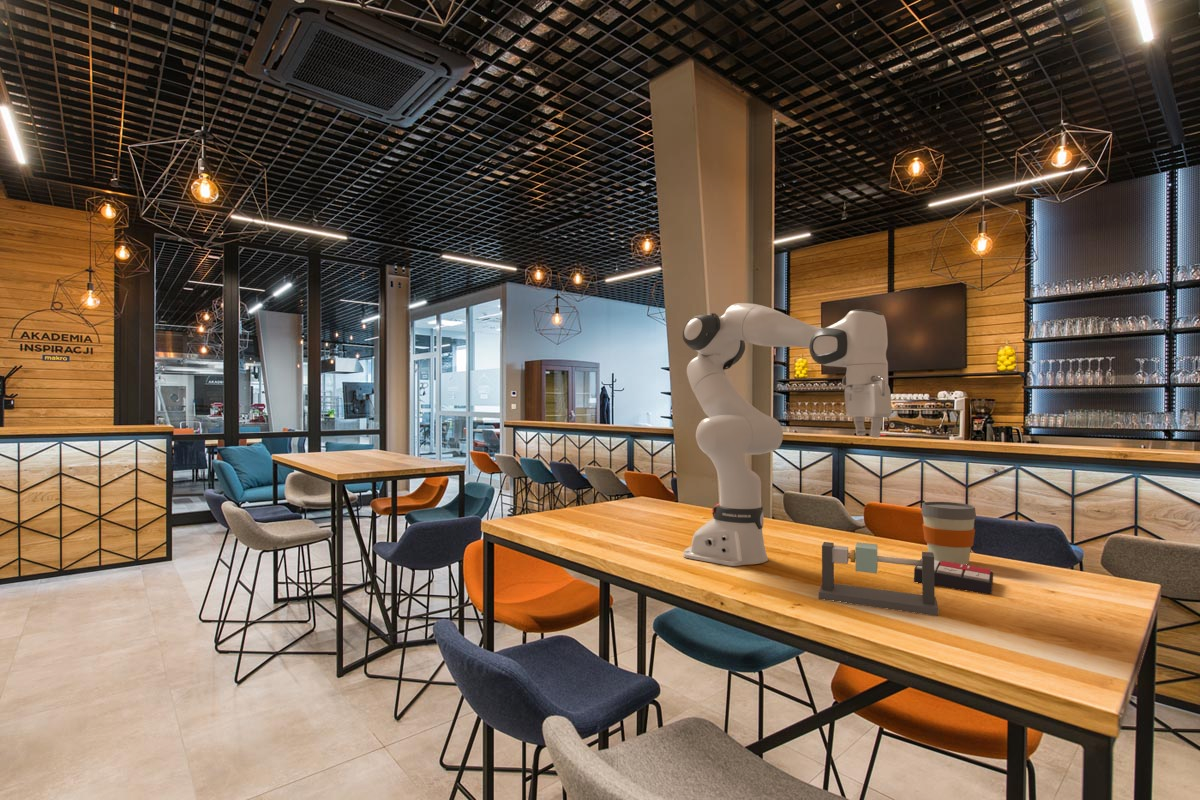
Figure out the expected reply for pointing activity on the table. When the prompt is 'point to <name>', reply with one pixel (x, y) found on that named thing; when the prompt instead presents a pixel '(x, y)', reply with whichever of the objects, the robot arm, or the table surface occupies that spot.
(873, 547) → the sleeve
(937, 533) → the reusable coffee cup
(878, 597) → the sliding block rail stand
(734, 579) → the table surface
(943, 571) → the calculator
